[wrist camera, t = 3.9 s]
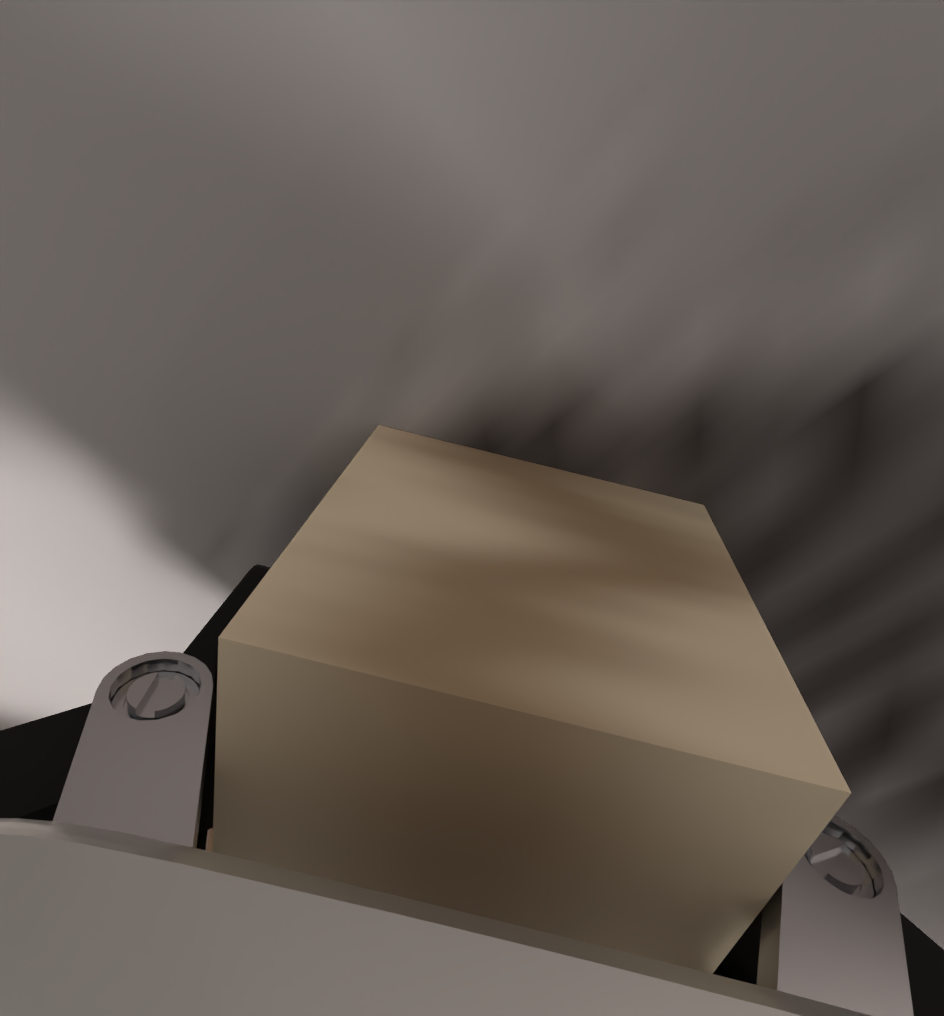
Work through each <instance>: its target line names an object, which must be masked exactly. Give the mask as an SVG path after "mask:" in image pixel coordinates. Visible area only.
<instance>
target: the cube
mask: <svg viewBox="0 0 944 1016" xmlns="http://www.w3.org/2000/svg"><path fill="white" fill-rule="evenodd" d="M850 794H851V791H850V789H849V787H848V785H847V783H846V782H845V780H844V778H843V776H842V774H841V772H840V770H839V768H838V766H837V764H836V762H835V760H834V758H833V756H832V754H831V752H830V750H829V748H828V746H827V744H826V742H825V741H824V739H823V737H822V735H821V733H820V731H819V729H818V727H817V725H816V723H815V721H814V719H813V717H812V715H811V713H810V711H809V709H808V707H807V705H806V703H805V701H804V699H803V698H802V696H801V694H800V692H799V690H798V688H797V686H796V684H795V682H794V680H793V678H792V676H791V674H790V672H789V670H788V668H787V666H786V664H785V662H784V660H783V658H782V657H781V655H780V653H779V651H778V649H777V647H776V645H775V643H774V641H773V639H772V637H771V635H770V633H769V631H768V629H767V627H766V625H765V623H764V621H763V619H762V617H761V616H760V614H759V612H758V610H757V608H756V606H755V604H754V602H753V600H752V598H751V596H750V594H749V592H748V590H747V588H746V586H745V584H744V582H743V580H742V578H741V576H740V575H739V573H738V571H737V569H736V567H735V565H734V563H733V561H732V559H731V557H730V555H729V553H728V551H727V549H726V547H725V545H724V543H723V541H722V539H721V537H720V535H719V534H718V532H717V530H716V528H715V526H714V524H713V522H712V520H711V518H710V516H709V514H708V512H707V510H706V508H705V506H704V505H702V504H698V503H694V502H690V501H686V500H682V499H677V498H673V497H669V496H665V495H661V494H657V493H653V492H649V491H645V490H641V489H637V488H633V487H629V486H625V485H621V484H617V483H613V482H608V481H604V480H600V479H596V478H592V477H588V476H584V475H580V474H576V473H572V472H568V471H564V470H560V469H556V468H552V467H548V466H544V465H539V464H535V463H531V462H527V461H523V460H519V459H515V458H511V457H507V456H503V455H499V454H495V453H491V452H487V451H483V450H479V449H475V448H470V447H466V446H462V445H458V444H454V443H450V442H446V441H442V440H438V439H434V438H430V437H426V436H422V435H418V434H414V433H410V432H406V431H401V430H397V429H393V428H389V427H385V426H381V425H378V426H377V428H376V429H375V430H374V432H373V433H372V434H371V436H370V437H369V438H368V440H367V441H366V442H365V444H364V445H363V446H362V448H361V449H360V450H359V452H358V453H357V454H356V455H355V457H354V458H353V459H352V461H351V462H350V463H349V465H348V466H347V467H346V469H345V470H344V471H343V473H342V474H341V475H340V477H339V478H338V479H337V481H336V482H335V483H334V485H333V486H332V487H331V489H330V490H329V491H328V493H327V494H326V495H325V497H324V498H323V499H322V501H321V502H320V503H319V505H318V506H317V507H316V509H315V510H314V511H313V512H312V514H311V515H310V516H309V518H308V519H307V520H306V522H305V523H304V524H303V526H302V527H301V528H300V530H299V531H298V532H297V534H296V535H295V536H294V538H293V539H292V540H291V542H290V543H289V544H288V546H287V547H286V548H285V550H284V551H283V552H282V554H281V555H280V556H279V558H278V559H277V560H276V562H275V563H274V564H273V566H272V567H271V568H270V569H269V571H268V572H267V573H266V575H265V576H264V577H263V579H262V580H261V581H260V583H259V584H258V585H257V587H256V588H255V589H254V591H253V592H252V593H251V595H250V596H249V597H248V599H247V600H246V601H245V603H244V604H243V605H242V607H241V608H240V609H239V611H238V612H237V613H236V615H235V616H234V617H233V619H232V620H231V621H230V623H229V624H228V625H227V626H226V628H225V629H224V630H223V632H222V633H221V634H220V636H219V637H218V672H217V708H216V744H215V780H214V816H213V851H212V852H215V853H219V854H224V855H229V856H233V857H237V858H242V859H246V860H250V861H254V862H258V863H262V864H267V865H271V866H275V867H279V868H283V869H287V870H292V871H296V872H300V873H304V874H308V875H312V876H317V877H321V878H325V879H329V880H333V881H337V882H342V883H346V884H350V885H354V886H358V887H362V888H367V889H371V890H375V891H379V892H383V893H387V894H392V895H396V896H400V897H404V898H408V899H412V900H416V901H420V902H424V903H429V904H433V905H437V906H441V907H445V908H449V909H453V910H457V911H461V912H465V913H469V914H473V915H478V916H482V917H486V918H490V919H494V920H498V921H502V922H506V923H510V924H514V925H518V926H522V927H526V928H530V929H534V930H538V931H543V932H547V933H551V934H555V935H559V936H563V937H567V938H571V939H575V940H579V941H583V942H587V943H591V944H595V945H599V946H603V947H607V948H611V949H615V950H619V951H623V952H627V953H631V954H635V955H639V956H643V957H647V958H651V959H655V960H659V961H663V962H667V963H671V964H675V965H679V966H683V967H687V968H691V969H695V970H699V971H703V972H707V973H711V974H713V972H714V971H715V970H716V969H717V967H718V966H719V965H720V963H721V962H722V961H723V959H724V958H725V957H726V956H727V954H728V953H729V952H730V950H731V949H732V948H733V946H734V945H735V944H736V943H737V941H738V940H739V939H740V937H741V936H742V935H743V933H744V932H745V931H746V930H747V928H748V927H749V926H750V924H751V923H752V922H753V920H754V919H755V918H756V917H757V915H758V914H759V913H760V911H761V910H762V909H763V907H764V906H765V905H766V904H767V902H768V901H769V900H770V898H771V897H772V896H773V894H774V893H775V892H776V890H777V889H778V888H779V887H780V885H781V884H782V883H783V881H784V880H785V879H786V877H787V876H788V875H789V874H790V872H791V871H792V870H793V868H794V867H795V866H796V864H797V863H798V862H799V861H800V859H801V858H802V857H803V855H804V854H805V853H806V851H807V850H808V849H809V848H810V846H811V845H812V844H813V842H814V841H815V840H816V838H817V837H818V836H819V835H820V833H821V832H822V831H823V829H824V828H825V827H826V825H827V824H828V823H829V822H830V820H831V819H832V818H833V816H834V815H835V814H836V812H837V811H838V810H839V809H840V807H841V806H842V805H843V803H844V802H845V801H846V799H847V798H848V797H849V795H850Z"/></svg>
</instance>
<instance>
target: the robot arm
mask: <svg viewBox="0 0 944 1016" xmlns="http://www.w3.org/2000/svg"><path fill="white" fill-rule="evenodd" d="M269 569H270V567H266V566H262V565H255V566H254V567H253V568H252V569H251V570H250V571H249V572H248V573H247V574H246V576H245V577H244V578H243V579H242V580H241V582H240V583H239V584H238V585H237V587H236V588H235V589H234V590H233V592H232V593H231V594H230V595H229V597H228V598H227V599H226V600H225V602H224V603H223V604H222V605H221V607H220V608H219V609H218V610H217V612H216V613H215V614H214V615H213V617H212V618H211V619H210V620H209V622H208V623H207V624H206V625H205V627H204V628H203V629H202V630H201V632H200V633H199V634H198V635H197V636H196V638H195V639H194V640H193V641H192V643H191V644H190V645H189V646H188V648H187V649H186V650H185V651H184V653H179V652H167V651H163V652H154V653H147V654H144V655H140V656H137V657H134V658H131V659H129V660H127V661H125V662H123V663H121V664H120V665H118V666H116V667H115V668H114V669H112V670H111V671H110V672H109V673H108V674H107V675H106V676H105V677H104V678H103V679H102V681H101V683H100V685H99V686H98V688H97V690H96V693H95V696H94V699H93V702H92V703H91V704H88V705H85V706H81V707H78V708H75V709H71V710H68V711H65V712H61V713H58V714H55V715H51V716H48V717H45V718H41V719H38V720H35V721H31V722H28V723H25V724H22V725H18V726H15V727H12V728H8V729H5V730H2V731H0V1016H944V950H943V949H942V948H941V947H940V946H938V945H937V944H936V943H935V942H934V941H933V940H931V939H930V938H929V937H928V936H927V935H926V934H924V933H923V932H922V931H921V930H920V929H919V928H917V927H916V926H915V925H914V924H913V923H912V922H911V921H909V920H908V919H907V918H906V917H905V916H904V915H902V914H901V913H900V909H899V902H898V894H897V887H896V884H895V880H894V877H893V874H892V871H891V869H890V868H889V866H888V864H887V863H886V861H885V859H884V857H883V856H882V855H881V853H880V852H879V851H878V850H877V849H876V848H875V846H874V845H873V844H872V843H871V842H870V841H869V840H868V839H867V838H866V837H865V836H864V835H863V834H861V833H860V832H859V831H858V830H857V829H856V828H854V827H853V826H851V825H850V824H848V823H847V822H845V821H843V820H842V819H840V818H839V817H837V816H833V818H832V819H831V820H830V822H829V823H828V824H827V825H826V827H825V828H824V829H823V831H822V832H821V833H820V835H819V836H818V837H817V838H816V840H815V841H814V842H813V844H812V845H811V846H810V848H809V849H808V850H807V851H806V853H805V854H804V855H803V857H802V858H801V859H800V861H799V862H798V863H797V864H796V866H795V867H794V868H793V870H792V871H791V872H790V874H789V875H788V876H787V877H786V879H785V880H784V881H783V883H782V884H781V885H780V887H779V888H778V889H777V890H776V892H775V893H774V894H773V896H772V897H771V898H770V900H769V901H768V902H767V904H766V905H765V906H764V907H763V909H762V910H761V911H760V913H759V914H758V915H757V917H756V918H755V919H754V920H753V922H752V923H751V924H750V926H749V927H748V928H747V930H746V931H745V932H744V933H743V935H742V936H741V937H740V939H739V940H738V941H737V943H736V944H735V945H734V946H733V948H732V949H731V950H730V952H729V953H728V954H727V956H726V957H725V958H724V959H723V961H722V962H721V963H720V965H719V966H718V967H717V969H716V970H715V971H714V972H713V974H711V973H707V972H703V971H699V970H695V969H691V968H687V967H683V966H679V965H675V964H671V963H667V962H663V961H659V960H655V959H651V958H647V957H643V956H639V955H635V954H631V953H627V952H623V951H619V950H615V949H611V948H607V947H603V946H599V945H595V944H591V943H587V942H583V941H579V940H575V939H571V938H567V937H563V936H559V935H555V934H551V933H547V932H543V931H538V930H534V929H530V928H526V927H522V926H518V925H514V924H510V923H506V922H502V921H498V920H494V919H490V918H486V917H482V916H478V915H473V914H469V913H465V912H461V911H457V910H453V909H449V908H445V907H441V906H437V905H433V904H429V903H424V902H420V901H416V900H412V899H408V898H404V897H400V896H396V895H392V894H387V893H383V892H379V891H375V890H371V889H367V888H362V887H358V886H354V885H350V884H346V883H342V882H337V881H333V880H329V879H325V878H321V877H317V876H312V875H308V874H304V873H300V872H296V871H292V870H287V869H283V868H279V867H275V866H271V865H267V864H262V863H258V862H254V861H250V860H246V859H242V858H237V857H233V856H229V855H224V854H219V853H215V852H210V851H207V850H208V840H209V831H210V829H211V828H213V816H214V780H215V744H216V708H217V672H218V637H219V636H220V634H221V633H222V632H223V630H224V629H225V628H226V626H227V625H228V624H229V623H230V621H231V620H232V619H233V617H234V616H235V615H236V613H237V612H238V611H239V609H240V608H241V607H242V605H243V604H244V603H245V601H246V600H247V599H248V597H249V596H250V595H251V593H252V592H253V591H254V589H255V588H256V587H257V585H258V584H259V583H260V581H261V580H262V579H263V577H264V576H265V575H266V573H267V572H268V571H269Z"/></svg>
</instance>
